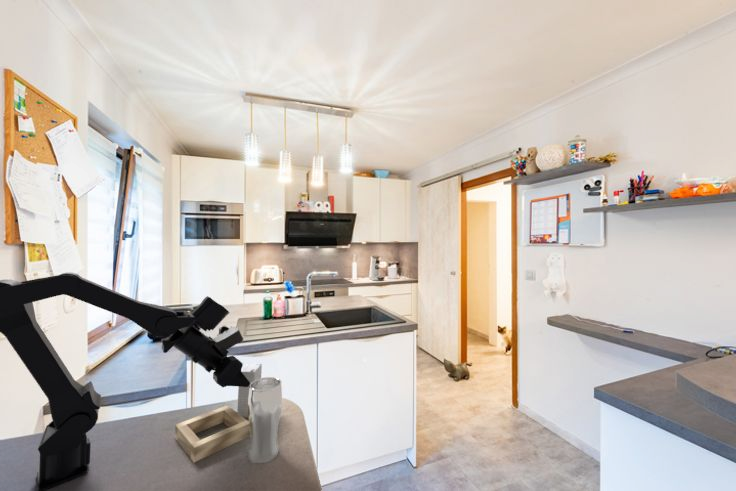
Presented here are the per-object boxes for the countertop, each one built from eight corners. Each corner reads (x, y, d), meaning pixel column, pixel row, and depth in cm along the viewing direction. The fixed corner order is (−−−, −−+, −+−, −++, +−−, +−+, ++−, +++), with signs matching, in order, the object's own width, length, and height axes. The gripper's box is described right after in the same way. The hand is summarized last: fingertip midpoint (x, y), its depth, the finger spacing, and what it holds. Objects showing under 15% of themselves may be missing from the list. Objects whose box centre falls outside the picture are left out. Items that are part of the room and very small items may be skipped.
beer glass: (270, 467, 60) (272, 392, 60) (239, 462, 61) (241, 388, 62) (286, 445, 67) (288, 378, 67) (258, 441, 68) (260, 375, 68)
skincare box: (244, 406, 83) (246, 362, 84) (261, 406, 83) (262, 362, 84) (236, 418, 77) (237, 371, 77) (253, 418, 77) (255, 371, 78)
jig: (194, 462, 61) (194, 447, 61) (174, 437, 69) (175, 424, 69) (249, 435, 70) (250, 423, 70) (227, 416, 78) (227, 405, 78)
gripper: (234, 326, 69) (278, 362, 76) (213, 312, 83) (252, 344, 90) (195, 369, 64) (246, 403, 71) (179, 346, 78) (223, 377, 85)
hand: (242, 379), depth 79 cm, fingers open, 9 cm apart
